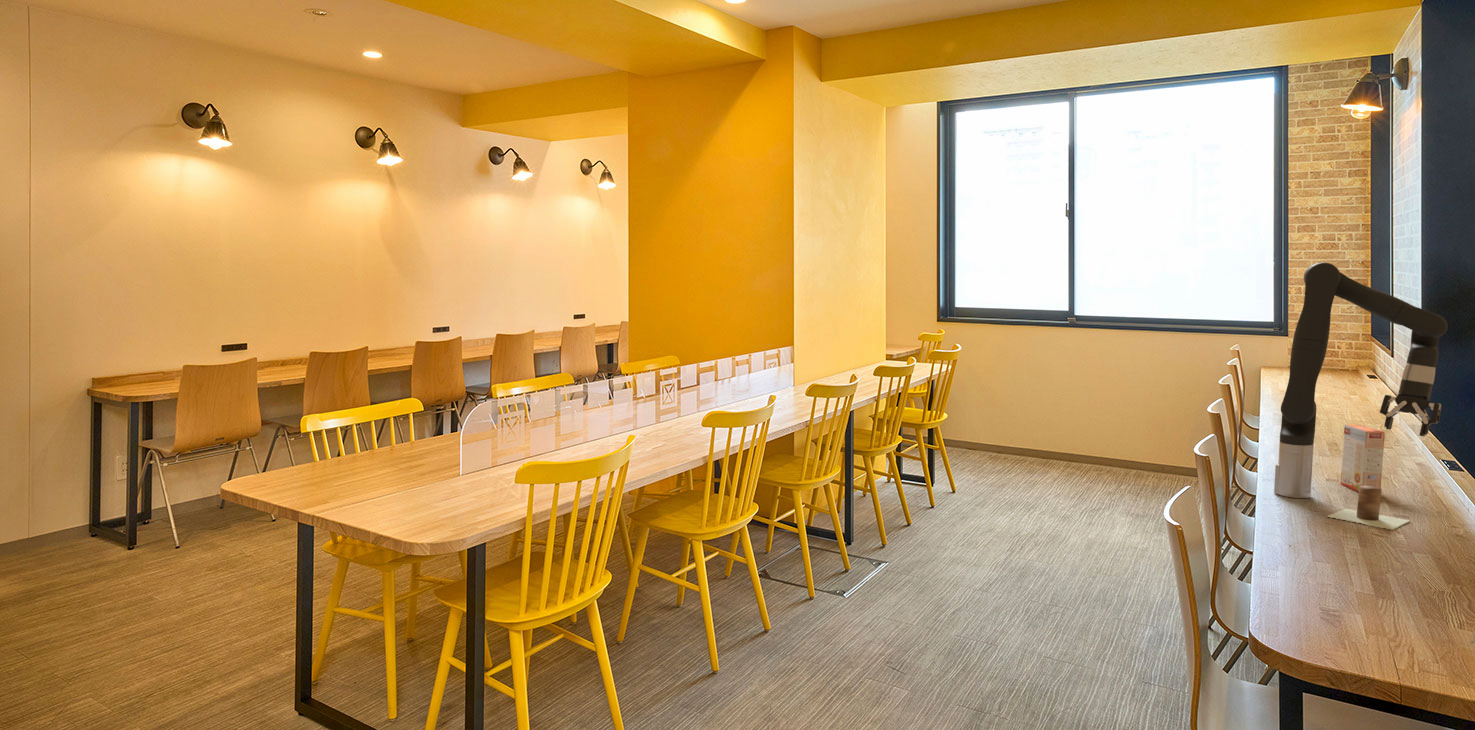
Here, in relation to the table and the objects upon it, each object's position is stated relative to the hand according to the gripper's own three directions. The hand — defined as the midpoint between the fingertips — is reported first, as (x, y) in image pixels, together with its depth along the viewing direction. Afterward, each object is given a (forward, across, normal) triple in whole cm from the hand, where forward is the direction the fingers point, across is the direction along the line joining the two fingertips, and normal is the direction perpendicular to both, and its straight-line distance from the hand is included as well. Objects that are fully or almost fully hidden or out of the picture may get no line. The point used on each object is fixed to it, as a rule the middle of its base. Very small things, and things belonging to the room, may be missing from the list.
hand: (1405, 432), depth 257 cm
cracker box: (+23, -14, +20) cm, 33 cm away
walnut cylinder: (+26, +2, -19) cm, 32 cm away
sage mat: (+26, +2, -19) cm, 32 cm away
